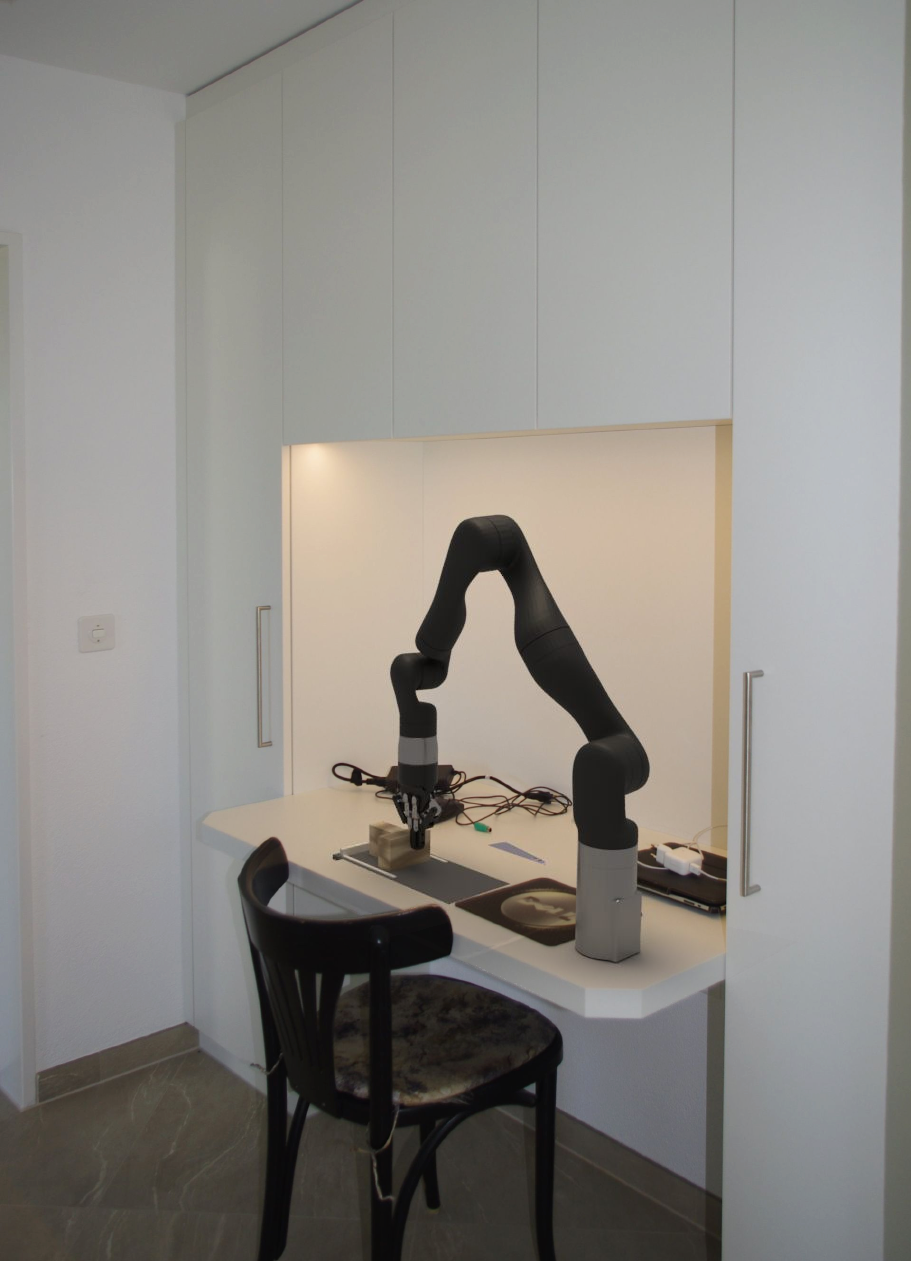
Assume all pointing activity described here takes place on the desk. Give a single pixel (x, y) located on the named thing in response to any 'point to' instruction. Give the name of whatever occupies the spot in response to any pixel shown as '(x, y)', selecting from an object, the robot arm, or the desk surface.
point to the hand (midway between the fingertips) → (417, 848)
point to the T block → (395, 846)
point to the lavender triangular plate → (516, 851)
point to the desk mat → (426, 875)
